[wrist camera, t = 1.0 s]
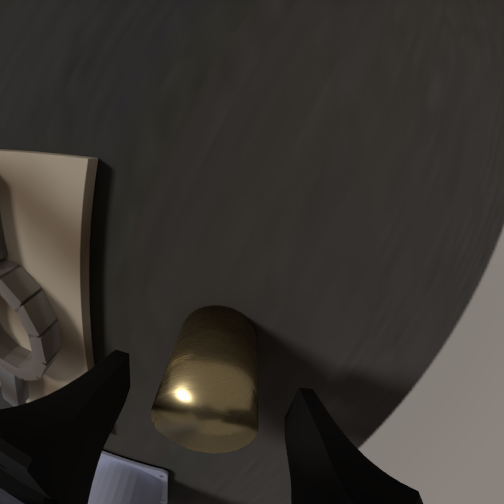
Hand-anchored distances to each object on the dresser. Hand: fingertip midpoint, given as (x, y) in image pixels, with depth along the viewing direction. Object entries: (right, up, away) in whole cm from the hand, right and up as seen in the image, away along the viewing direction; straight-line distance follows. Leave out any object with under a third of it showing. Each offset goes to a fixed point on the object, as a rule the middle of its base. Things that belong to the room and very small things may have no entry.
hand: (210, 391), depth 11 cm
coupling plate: (-13, +2, +4) cm, 14 cm away
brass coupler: (0, +1, +4) cm, 4 cm away
